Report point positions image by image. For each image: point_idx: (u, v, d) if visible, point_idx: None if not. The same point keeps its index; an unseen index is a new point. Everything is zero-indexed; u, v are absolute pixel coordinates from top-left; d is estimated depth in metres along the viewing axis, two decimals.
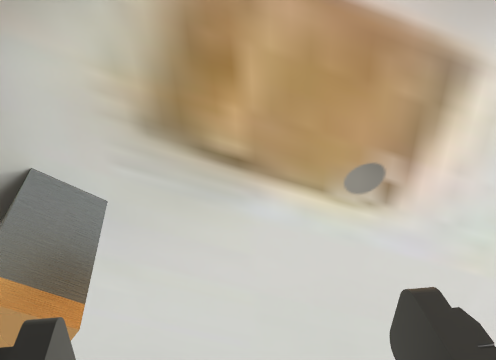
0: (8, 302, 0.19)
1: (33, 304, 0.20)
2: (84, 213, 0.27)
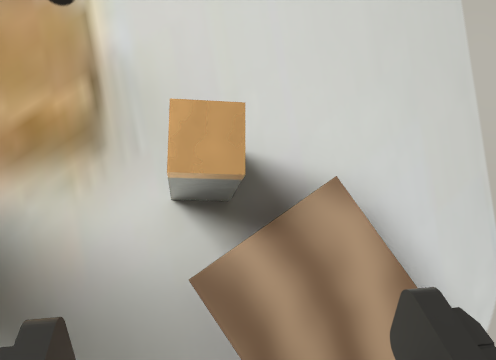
0: (168, 149, 0.28)
1: None
2: None
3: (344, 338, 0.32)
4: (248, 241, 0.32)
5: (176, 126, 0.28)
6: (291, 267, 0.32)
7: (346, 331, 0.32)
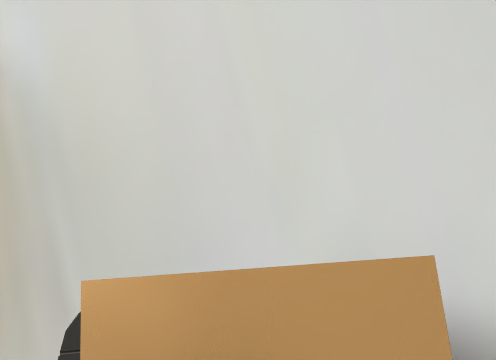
0: None
1: None
2: None
3: None
4: None
5: None
6: None
7: None
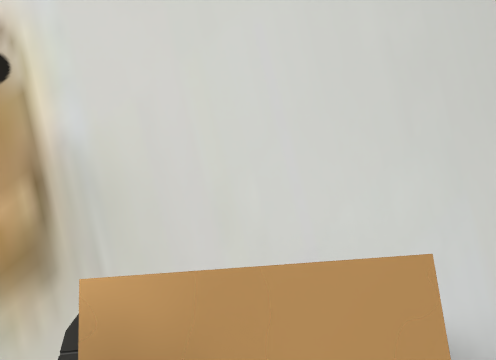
0: None
1: None
2: None
3: None
4: None
5: None
6: None
7: None
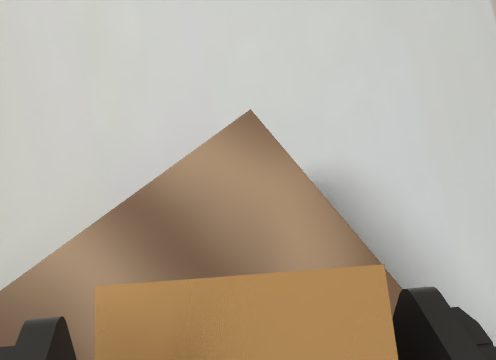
0: None
1: None
2: None
3: None
4: (80, 239, 0.17)
5: None
6: None
7: None
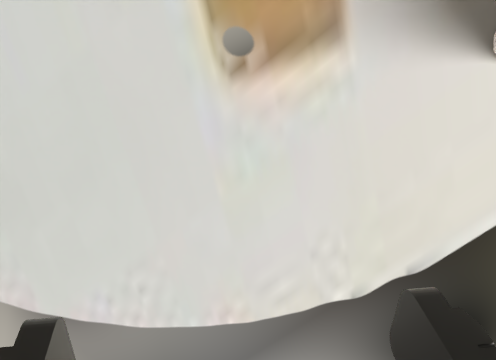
0: None
1: None
2: None
3: None
4: None
5: None
6: None
7: None
